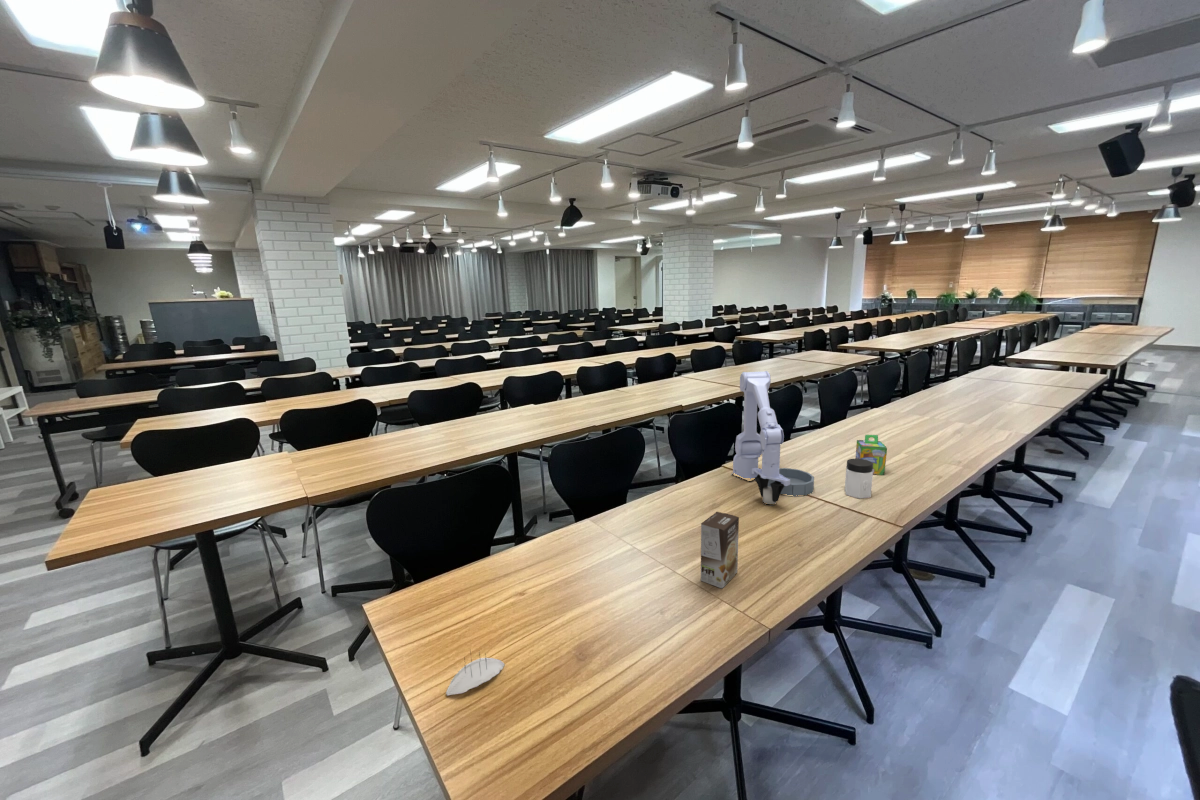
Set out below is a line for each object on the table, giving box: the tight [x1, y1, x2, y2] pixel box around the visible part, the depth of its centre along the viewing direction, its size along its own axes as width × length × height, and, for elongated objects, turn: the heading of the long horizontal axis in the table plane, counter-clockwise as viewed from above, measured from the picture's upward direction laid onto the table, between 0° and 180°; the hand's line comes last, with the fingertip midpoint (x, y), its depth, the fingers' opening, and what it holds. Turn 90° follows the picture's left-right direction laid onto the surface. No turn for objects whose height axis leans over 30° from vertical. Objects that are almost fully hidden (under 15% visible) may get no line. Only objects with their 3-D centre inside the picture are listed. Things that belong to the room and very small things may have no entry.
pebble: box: [762, 487, 777, 505], centre depth 163 cm, size 4×4×5 cm
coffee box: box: [700, 511, 740, 589], centre depth 121 cm, size 9×6×16 cm
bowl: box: [767, 467, 815, 497], centre depth 176 cm, size 17×17×4 cm
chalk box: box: [854, 434, 888, 476], centre depth 187 cm, size 9×9×15 cm
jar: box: [844, 458, 874, 499], centre depth 167 cm, size 9×8×12 cm
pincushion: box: [445, 650, 506, 697], centre depth 92 cm, size 12×6×6 cm, turn 128°
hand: (769, 498), depth 163 cm, fingers closed on pebble, 4 cm apart
